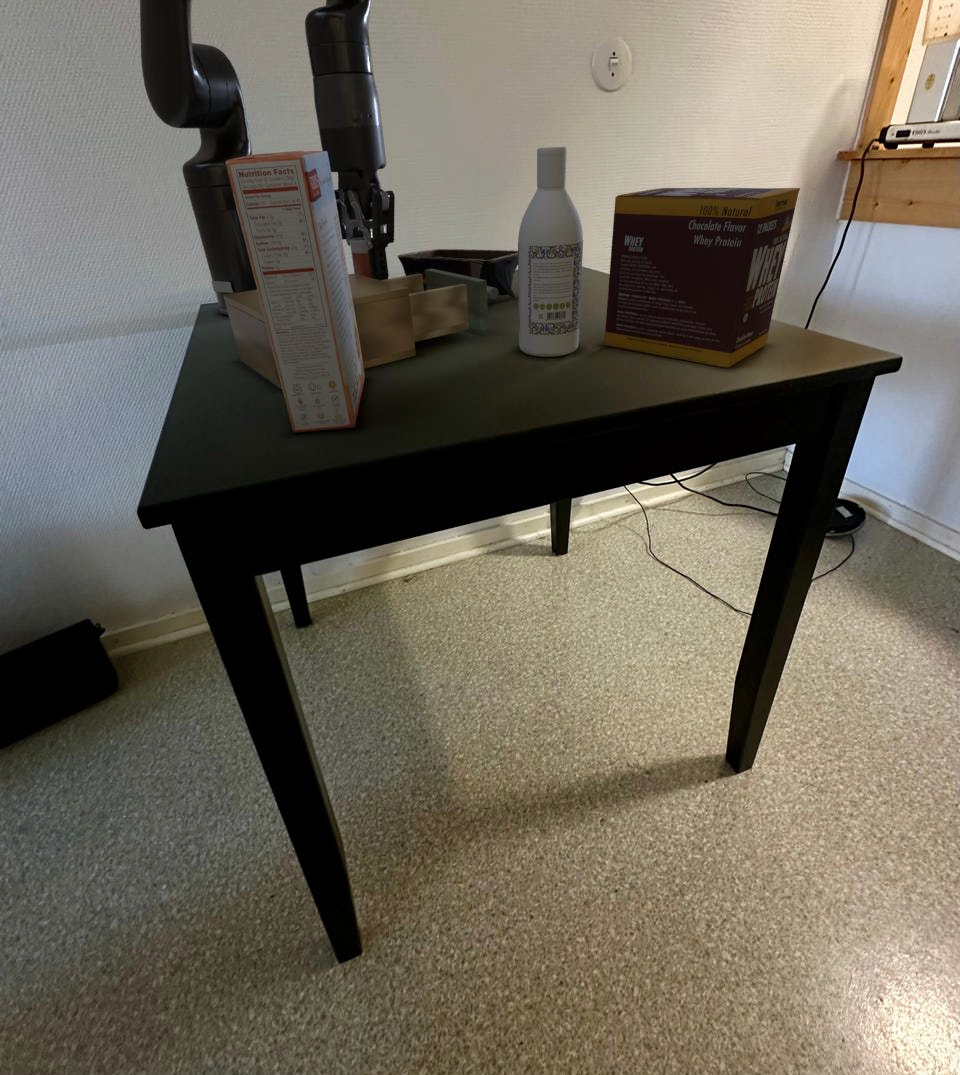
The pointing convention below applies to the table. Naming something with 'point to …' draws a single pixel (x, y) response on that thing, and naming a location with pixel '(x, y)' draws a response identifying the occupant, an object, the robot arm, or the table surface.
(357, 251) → the salt shaker
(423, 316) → the drawer
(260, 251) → the cracker box
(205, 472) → the table surface
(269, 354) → the cabinet
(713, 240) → the supplement box
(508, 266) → the baking dish
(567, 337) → the bath foam
